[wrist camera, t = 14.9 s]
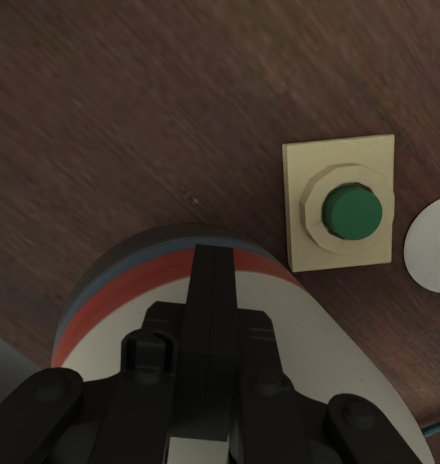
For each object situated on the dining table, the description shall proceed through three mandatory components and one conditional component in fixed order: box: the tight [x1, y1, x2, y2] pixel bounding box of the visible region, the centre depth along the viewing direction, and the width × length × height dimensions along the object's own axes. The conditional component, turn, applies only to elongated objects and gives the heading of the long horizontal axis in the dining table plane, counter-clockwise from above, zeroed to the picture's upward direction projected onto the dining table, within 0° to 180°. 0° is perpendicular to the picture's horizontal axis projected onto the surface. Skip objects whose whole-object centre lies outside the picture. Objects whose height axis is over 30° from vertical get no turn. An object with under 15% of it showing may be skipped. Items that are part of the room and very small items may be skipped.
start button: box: [324, 186, 383, 240], centre depth 27 cm, size 4×4×2 cm
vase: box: [51, 223, 435, 464], centre depth 20 cm, size 17×17×24 cm
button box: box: [282, 134, 395, 272], centre depth 29 cm, size 10×8×4 cm
